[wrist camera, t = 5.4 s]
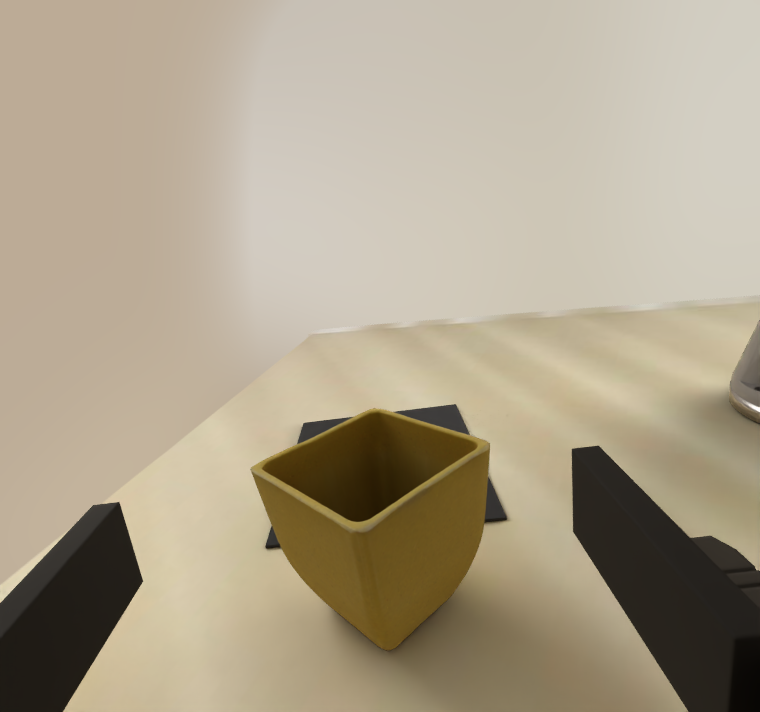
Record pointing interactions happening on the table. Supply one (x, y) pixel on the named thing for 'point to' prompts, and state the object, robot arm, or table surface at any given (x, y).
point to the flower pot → (379, 517)
